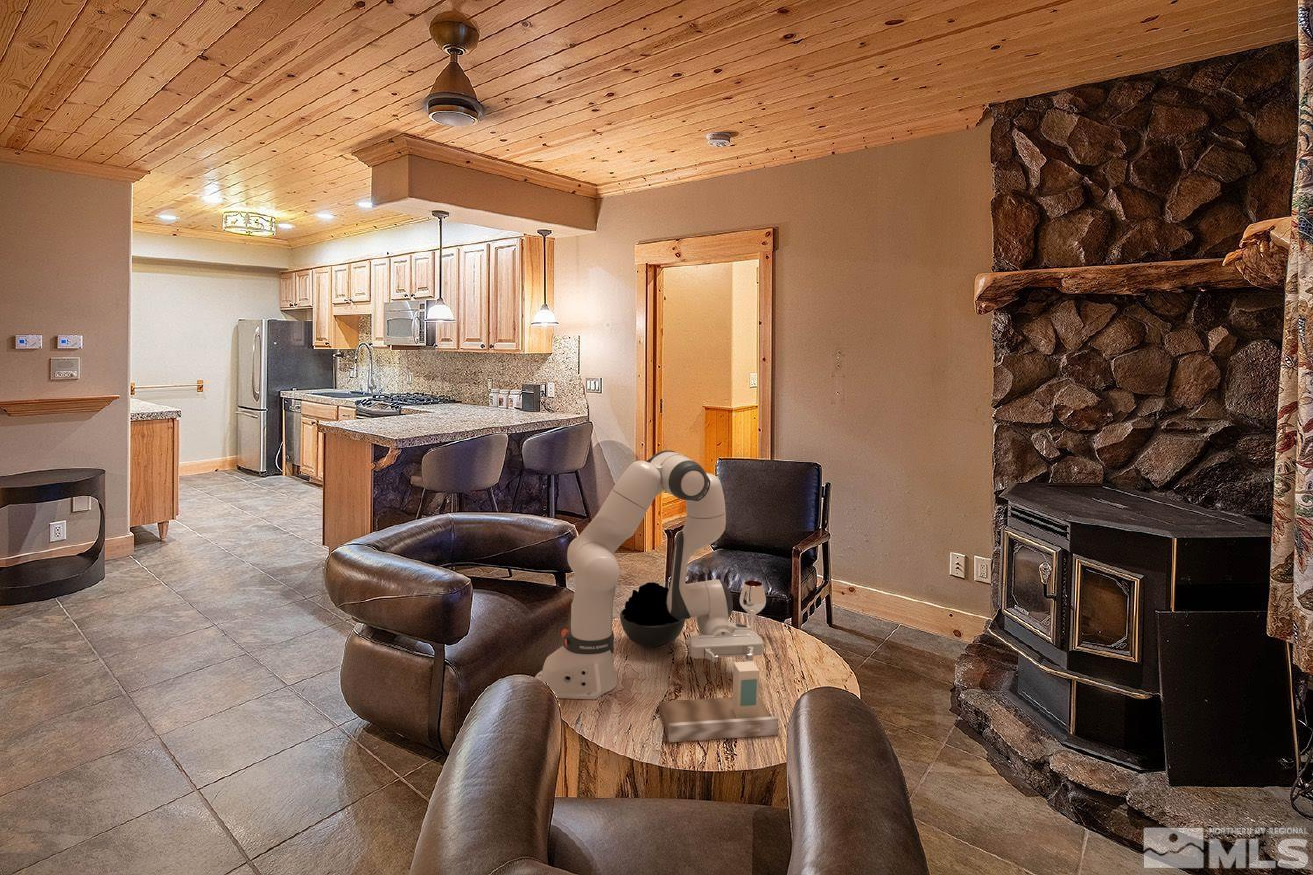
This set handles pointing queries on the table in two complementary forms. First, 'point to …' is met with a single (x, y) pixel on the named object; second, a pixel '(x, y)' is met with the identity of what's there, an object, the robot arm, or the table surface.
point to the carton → (745, 690)
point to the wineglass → (752, 598)
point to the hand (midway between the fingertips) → (733, 658)
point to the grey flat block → (713, 720)
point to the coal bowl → (650, 617)
